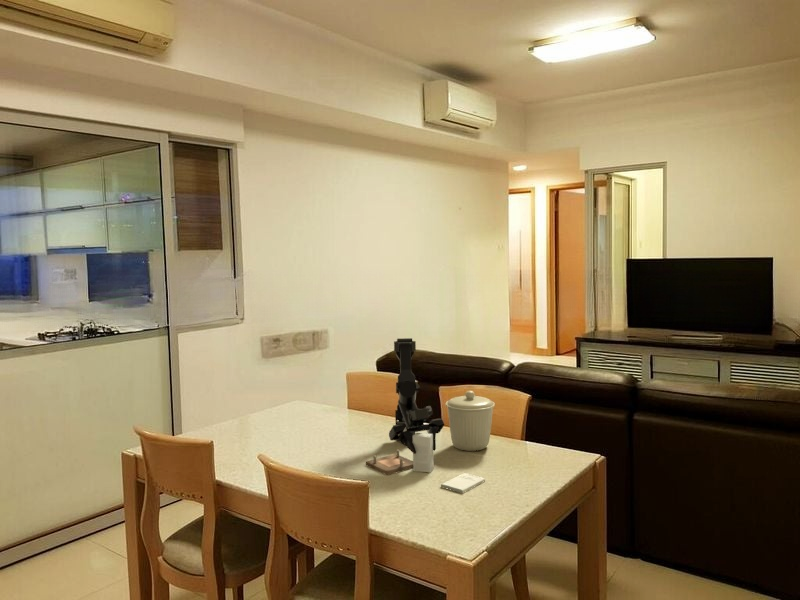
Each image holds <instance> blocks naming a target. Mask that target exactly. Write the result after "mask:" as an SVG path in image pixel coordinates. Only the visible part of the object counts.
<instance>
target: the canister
mask: <svg viewBox="0 0 800 600" xmlns="http://www.w3.org/2000/svg"><path fill="white" fill-rule="evenodd" d="M495 404H496V402H494V401H492V400H491V399H489V398H488V397H485V396H480V395H479V396H477V395H475V392H474V391H473V390H467V391H465V394H464V395H461V396H455V397H452V398H450V399H449V400H447V401H446V402H445V406H446V407H447V408H446V409H447V414H448V423H449V424H448V425H449V432H450V437H451V442H452V445H453V447H455V448H456V449H459V450H461V451H464V452H465V451H468V452H475V451H476V450H477V451H481V450H484V449H486V448H487V447H488V445H489V442H490V438H491V430H492V421H493V411H494V410H493V409H494V407H495V406H496V405H495Z"/></svg>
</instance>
